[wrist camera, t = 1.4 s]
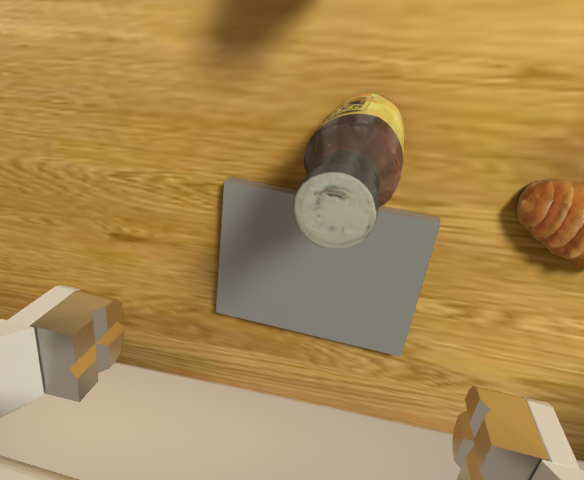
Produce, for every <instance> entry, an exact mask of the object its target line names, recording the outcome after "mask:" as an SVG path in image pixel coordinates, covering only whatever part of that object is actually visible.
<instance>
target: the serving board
mask: <svg viewBox="0 0 584 480" xmlns="http://www.w3.org/2000/svg"><path fill="white" fill-rule="evenodd" d="M296 193H297V190H296V189H291V188H286V187H281V186H276V185H271V184H265V183H260V182H255V181H250V180H245V179H240V178H234V177H228V178H227V179H226V180H225V181H224V192H223V208H222V224H221V240H220V256H219V272H218V288H217V304H216V312H217V313H221V314H225V315H229V316H233V317H238V318H242V319H246V320H250V321H254V322H258V323H263V324H267V325H271V326H275V327H279V328H283V329H288V330H292V331H296V332H300V333H304V334H308V335H312V336H317V337H321V338H325V339H329V340H333V341H337V342H342V343H346V344H350V345H354V346H358V347H362V348H366V349H371V350H375V351H379V352H383V353H387V354H391V355H396V356H400V357H401V354H402V350H403V347H404V344H405V340H406V337H407V334H408V330H409V327H410V324H411V320H412V317H413V314H414V310H415V307H416V304H417V300H418V297H419V294H420V290H421V287H422V284H423V280H424V277H425V274H426V270H427V267H428V263H429V260H430V257H431V253H432V250H433V247H434V243H435V240H436V237H437V233H438V230H439V227H440V219H439V217H436V216H431V215H426V214H421V213H415V212H410V211H405V210H400V209H395V208H390V207H384V206H381V207H380V208H379V209H378V215H377V220H376V223H375V226H374V228H373V229H372V231H371V232H370V234H369V235H368V236H367V237H366V238H365V239H364V240H363V241H362V242H361V243H359V244H357V245H355V246H353V247H350V248H347V249H342V250H338V249H327V248H323V247H320V246H318V245H316V244H314V243H312V242H311V241H310V240H308V239H307V238H306V237H305V235H304V234H303V233H302V232H301V231H300V229H299V227H298V226H297V223H296V221H295V218H294V214H293V203H294V198H295V195H296Z"/></svg>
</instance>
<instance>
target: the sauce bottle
mask: <svg viewBox="0 0 584 480" xmlns="http://www.w3.org/2000/svg"><path fill="white" fill-rule="evenodd" d="M404 132H405V131H404V124H403V120H402V117H401V114H400V112H399V110H398V109H397V107H396V106H395V105H394V104H393V103H392V102H391V101H390V100H389V99H388V98H386V97H384V96H382V95H378V94H373V93H361V94H357V95H354V96H352V97H350V98H348V99H346V100H345V101H343V102H342V103H341V104H340V105H339V106H338V107H337V108H336V109H335V110H334V111H333V113H332V114H330V116H329V117H328V118H327V119H326V120H325V121H324V123H323V124H322V125H321V126H320V127H319V128H318V129H317V131H316V132H315V133H314V134H313V136H312V137H311V139H310V140H309V142H308V144H307V147H306V150H305V155H304V165H305V170H306V173H307V176H306V177H305V178H304V179H303V181H302V182H301V184H300V186H299V188H298V190H297V193H296V195H295V198H294V203H293V214H294V218H295V221H296V223H297V226H298V227H299V229H300V231H301V232H302V233H303V234H304V235H305V237H306V238H307V239H308V240H310V241H311V242H312V243H314V244H316V245H318V246H320V247H323V248H327V249H338V250H342V249H347V248H350V247H353V246H355V245H357V244H359V243H361V242H362V241H363V240H364V239H365V238H366V237H367V236H368V235H369V234H370V232H371V231H372V229H373V228H374V226H375V223H376V220H377V215H378V209H379V208H380V207H381V206H383V205H384V204H385V203H386V202H387V201H388V200H390V199H391V197H392V194H393V193H394V191H395V189H396V188H397V185H398V183H399V180H400V176H401V171H402V167H403V156H404Z"/></svg>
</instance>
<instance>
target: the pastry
mask: <svg viewBox="0 0 584 480" xmlns="http://www.w3.org/2000/svg"><path fill="white" fill-rule="evenodd" d="M517 213H518V220H519V222H520V223H521V224H522V225H523V226H524V227H525V228H526V229H528V231H529V232H530V233H531V235H532V236H533V237H534V238H535V239H536V240H538V241H539V242H541V243H542V244H543V245H545V246H546V247H547V248H548V250H549V251H550V252H551V254H554V255H557V256H561V257H563V258H566V259H569V260H571V261H572V262H573V263H574V265H576V266H577V267H580V268H584V183H581V182H574V181H567V180H559V179H549V180H542V181H536V182H534V183H532V184H530V185H528V186H527V187H526V188H525V190H524V191H523V192H522V194H521V195H520V197H519V202H518V206H517Z"/></svg>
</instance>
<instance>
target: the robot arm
mask: <svg viewBox="0 0 584 480" xmlns="http://www.w3.org/2000/svg"><path fill="white" fill-rule="evenodd" d="M122 315H123V308H122V303H121V302H120V301H119V300H118V299H115V298H111V297H107V296H104V295H100V294H96V293H92V292H89V291H85V290H79V289H76V288H73V287H69V286H65V285H60V286H56V287H54V288H53V289H51V290H50V291H48V292H47V293H46V294H44V295H43V296H41V297H40V298H38V299H37V300H36V301H34V302H33V303H31V304H30V305H28V306H27V307H26V308H24V309H23V310H21V311H20V312H18V313H17V314H16V315H14V316H13V317H11V318H10V319H8V320H3V319H0V418H1V417H3V416H5V415H7V414H9V413H11V412H13V411H15V410H17V409H19V408H21V407H23V406H24V405H26V404H28V403H30V402H32V401H34V400H36V399H38V398H40V397H42V396H44V393H46V394H50V395H54V396H58V397H62V398H66V399H70V400H74V401H78V402H80V401H81V400H82V398H84V396H85V395H86V394H87V393H88V392H89V391H90V390H91V389H92V387H93V386H94V385H95V384H96V383H97V382H98V373H99V372H101V371H104V370H106V369H109V368H110V367H111V366H112V365H113V364H114V362H115V361H116V360H117V358H118V356H119V354H120V352H121V350H122V347H123V342H124V330H123V328H122V327H121V325H120V324H119V322H118V320H119V319H120V318H121V317H122ZM465 402H466V407H467V411H465V412H463V413H461V414H459V416H458V419H457V421H456V424H455V428H454V434H453V455H454V460H455V462H456V463H457V464H458V466H459V467H460V468H461V470H460V473H459V475H458V478H457V480H584V470H581V469H580V467H579V465H578V462H577V460H576V458H575V456H574V454H573V451H572V449H571V447H570V445H569V443H568V440H567V438H566V436H565V434H564V431H563V429H562V427H561V425H560V423H559V420H558V418H557V416H556V414H555V411H554V409H553V407H552V406H551V405H550V404H549V403H548V402H544V401H539V400H535V399H530V398H525V397H518V396H514V395H509V394H505V393H501V392H497V391H493V390H488V389H484V388H480V387H476V386H472V387H471V389H470V390H469V391H468V394H467V396H466V398H465ZM0 480H78V479H75V478H72V477H68V476H65V475H62V474H58V473H56V472H52V471H49V470H45V469H42V468H39V467H36V466H33V465H30V464H26V463H23V462H20V461H17V460H13V459H10V458H7V457H4V456H0Z"/></svg>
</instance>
